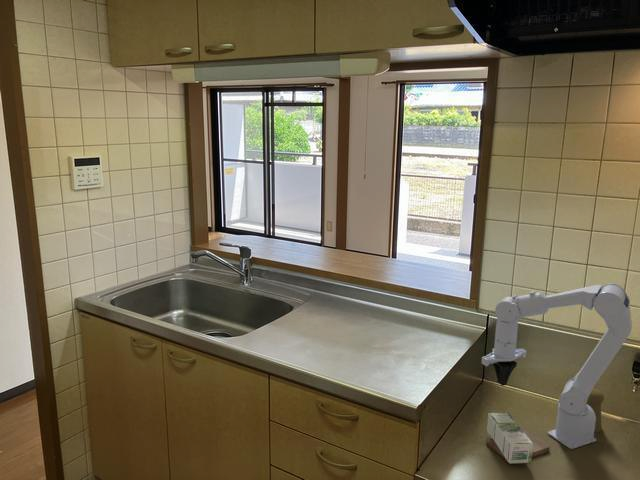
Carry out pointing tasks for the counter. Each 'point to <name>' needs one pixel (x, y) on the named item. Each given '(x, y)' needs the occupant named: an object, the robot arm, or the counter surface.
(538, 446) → the walnut board
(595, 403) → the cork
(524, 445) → the syrup box
